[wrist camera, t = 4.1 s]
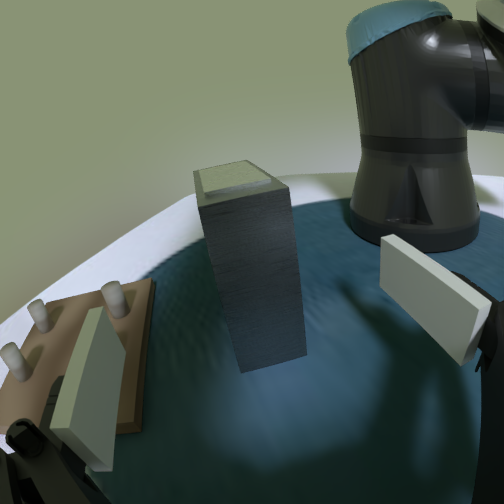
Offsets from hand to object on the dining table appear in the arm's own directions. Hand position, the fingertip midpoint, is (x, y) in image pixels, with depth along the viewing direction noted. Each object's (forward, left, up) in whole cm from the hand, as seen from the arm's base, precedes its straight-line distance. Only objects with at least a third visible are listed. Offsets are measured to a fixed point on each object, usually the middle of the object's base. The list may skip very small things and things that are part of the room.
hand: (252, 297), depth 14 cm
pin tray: (+13, -6, -6) cm, 16 cm away
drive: (-1, -6, -6) cm, 9 cm away
